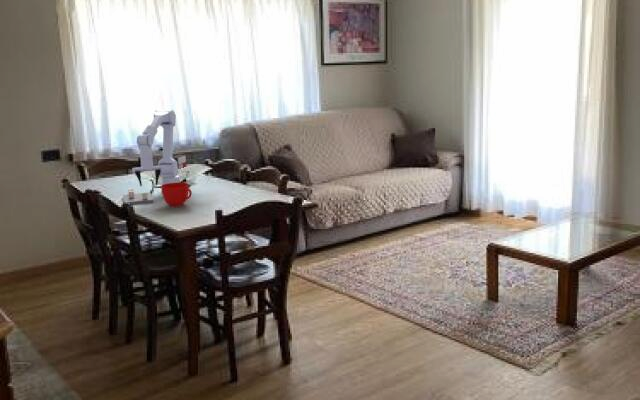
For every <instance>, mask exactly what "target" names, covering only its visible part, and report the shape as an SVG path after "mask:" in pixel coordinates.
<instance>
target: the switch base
mask: <svg viewBox="0 0 640 400" xmlns="http://www.w3.org/2000/svg"><path fill="white" fill-rule="evenodd" d="M147 197H148V199H143V198H142V192H140V193H139V192H138V193H134V197H132V198H129V193H128V194H122V199H123V203H130V204H132V205H133V206H134V205H142V204H143V205H144V204H153V203H154V202H155V200H154V197H153V194H152V193H151V192H147ZM154 204H155V203H154ZM132 205H131V206H132Z"/></svg>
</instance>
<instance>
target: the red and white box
mask: <svg viewBox="0 0 640 400" xmlns="http://www.w3.org/2000/svg"><path fill="white" fill-rule="evenodd" d="M172 158H173V159H174V160H175V161H177V166H178V169H181V168H184V167H187V165H188V164H187V158H186V155H185V154H177V155H175V156H172ZM187 168H188V167H187Z"/></svg>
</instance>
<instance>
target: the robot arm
mask: <svg viewBox="0 0 640 400" xmlns="http://www.w3.org/2000/svg"><path fill="white" fill-rule="evenodd" d="M176 116H177V115H176V113H175V111H174V110H173V109H165V110H164V109H162V110H161V109H160V110H159V109H156V110H155V111H154V112H153V120H152V122H151V124H148V125H147V126H146V127H145V129H144V130H143V132H142V133H141V134H139V135H137V138H136V144H137V146H138V150H139V156H140V167H132V169H131V170H132V173H134V175H135V176H136V177H137V180H138V183H139V185H140V186H139V187H143V185H142V177H141V175H142V174H141V172H153V171H154V173H155V174H154V175H155V186H158V182H159V179H160V177H161V186H162V185H164V184H168V183H181V182H180V180H179V176H176V175H177V173H178V166H177V161H175V160H174V159H173V158H172V157H173V154H174V152H173V151H174V150H173V149H174V148H173V146H174V127H175V126H176V122H177V121H176V118H177V117H176ZM159 127H162V129H163V130H162V131H163V132H162V133H163V138H162V140H163V141H162V157H161V159H159V161H158V164H157V165H154V162H153V161H154V159H153V148H152V146H153V145H154V141H155V137H156V135H157V133H158V128H159ZM161 193H162V190H161Z"/></svg>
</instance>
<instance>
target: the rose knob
mask: <svg viewBox="0 0 640 400" xmlns="http://www.w3.org/2000/svg"><path fill="white" fill-rule="evenodd" d="M128 194H129V198H132V197H134V194H135V191H134V190H133V191H129V192H128Z"/></svg>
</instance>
